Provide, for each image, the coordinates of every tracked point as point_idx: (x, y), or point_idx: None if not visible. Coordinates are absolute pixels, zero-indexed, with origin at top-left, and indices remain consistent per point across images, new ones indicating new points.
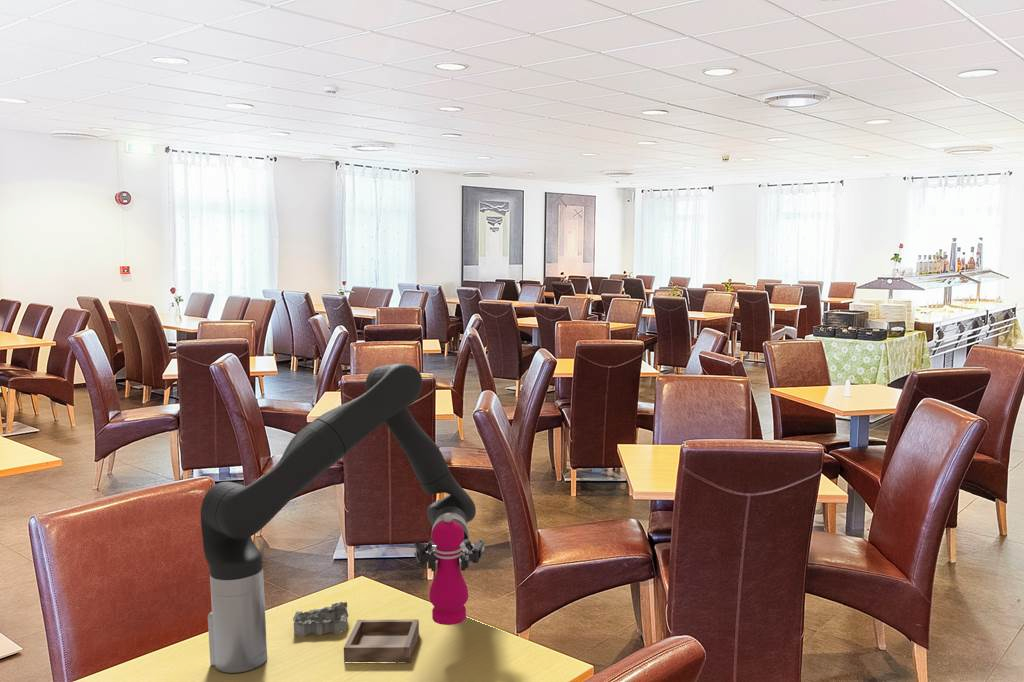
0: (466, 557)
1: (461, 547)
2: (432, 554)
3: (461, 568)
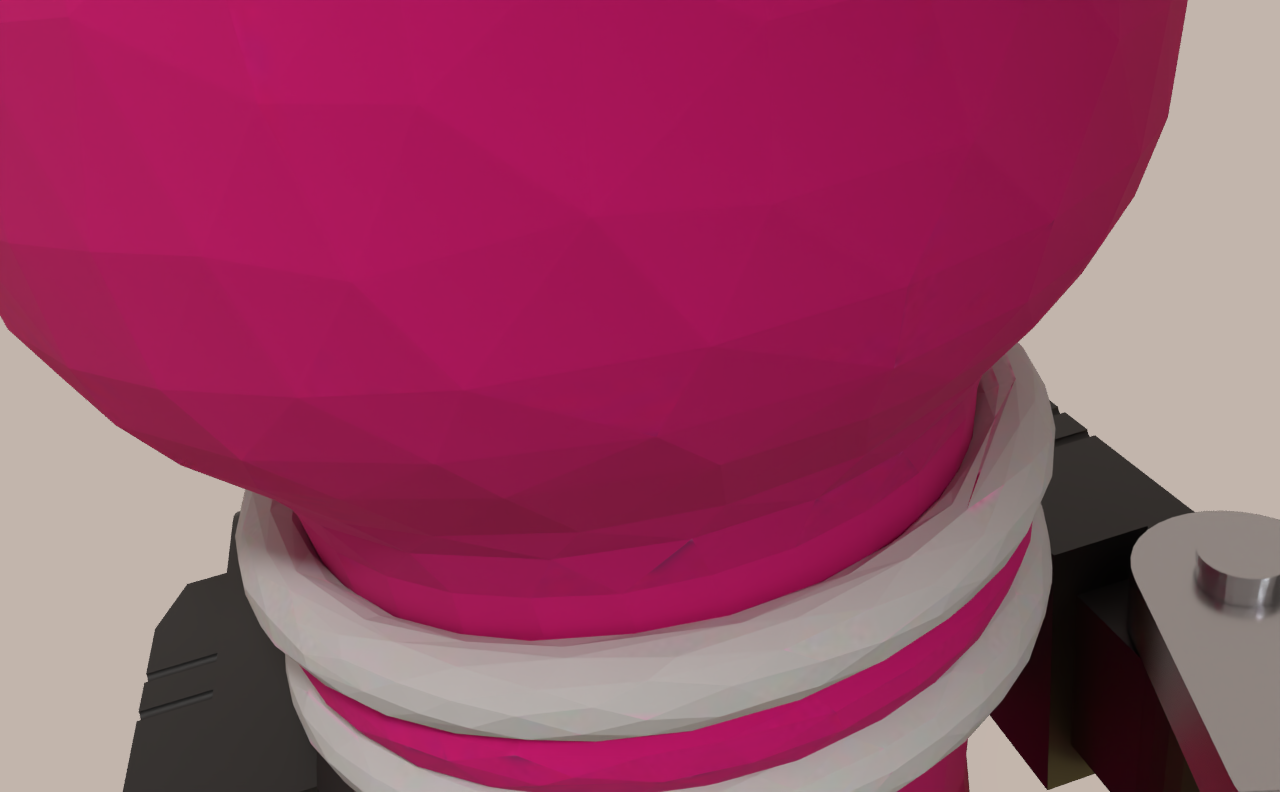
0: (197, 706)
1: (239, 522)
2: (1080, 487)
3: None
